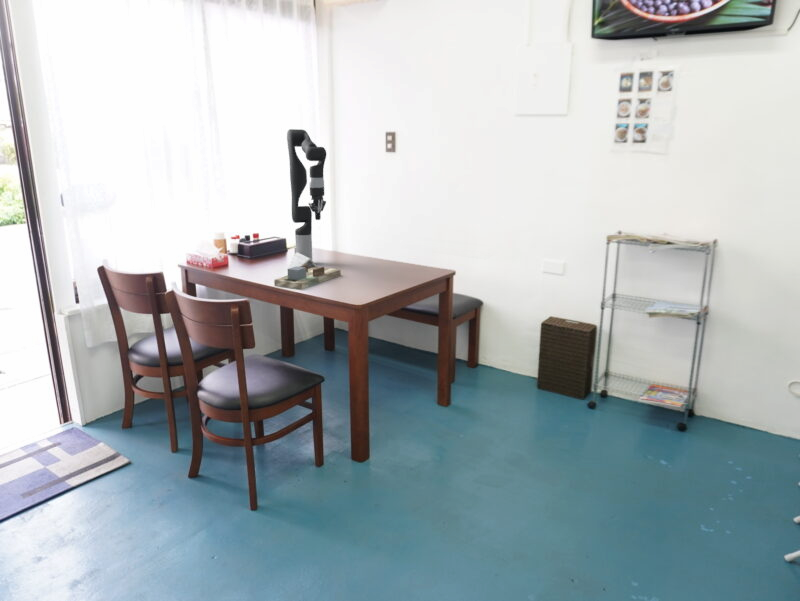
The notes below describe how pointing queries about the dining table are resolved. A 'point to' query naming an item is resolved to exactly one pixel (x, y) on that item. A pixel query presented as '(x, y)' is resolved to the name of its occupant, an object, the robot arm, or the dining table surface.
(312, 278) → the tunnel deck
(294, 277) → the grey block
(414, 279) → the dining table surface
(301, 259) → the bracket
